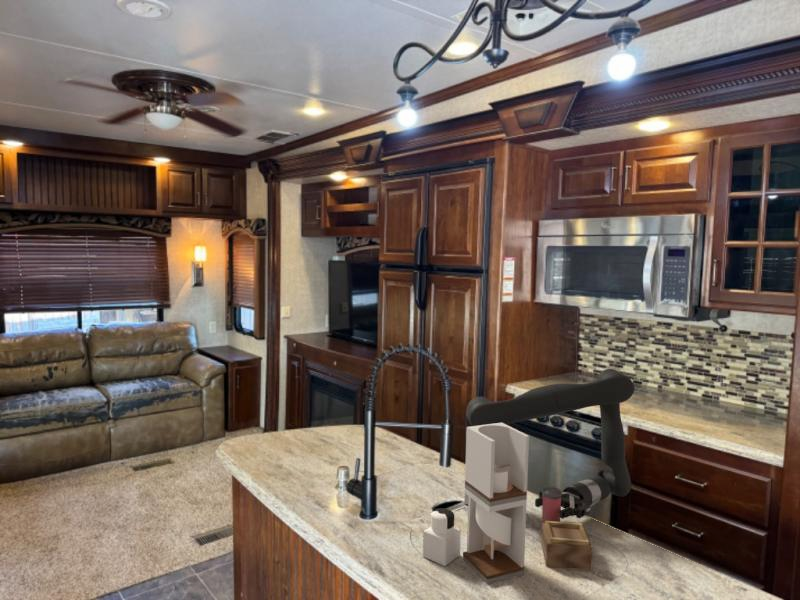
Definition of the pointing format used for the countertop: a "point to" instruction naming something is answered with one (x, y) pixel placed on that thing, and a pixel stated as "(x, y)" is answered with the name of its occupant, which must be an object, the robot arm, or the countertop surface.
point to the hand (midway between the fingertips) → (548, 509)
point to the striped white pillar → (496, 500)
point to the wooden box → (566, 545)
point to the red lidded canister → (551, 504)
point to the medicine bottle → (442, 538)
